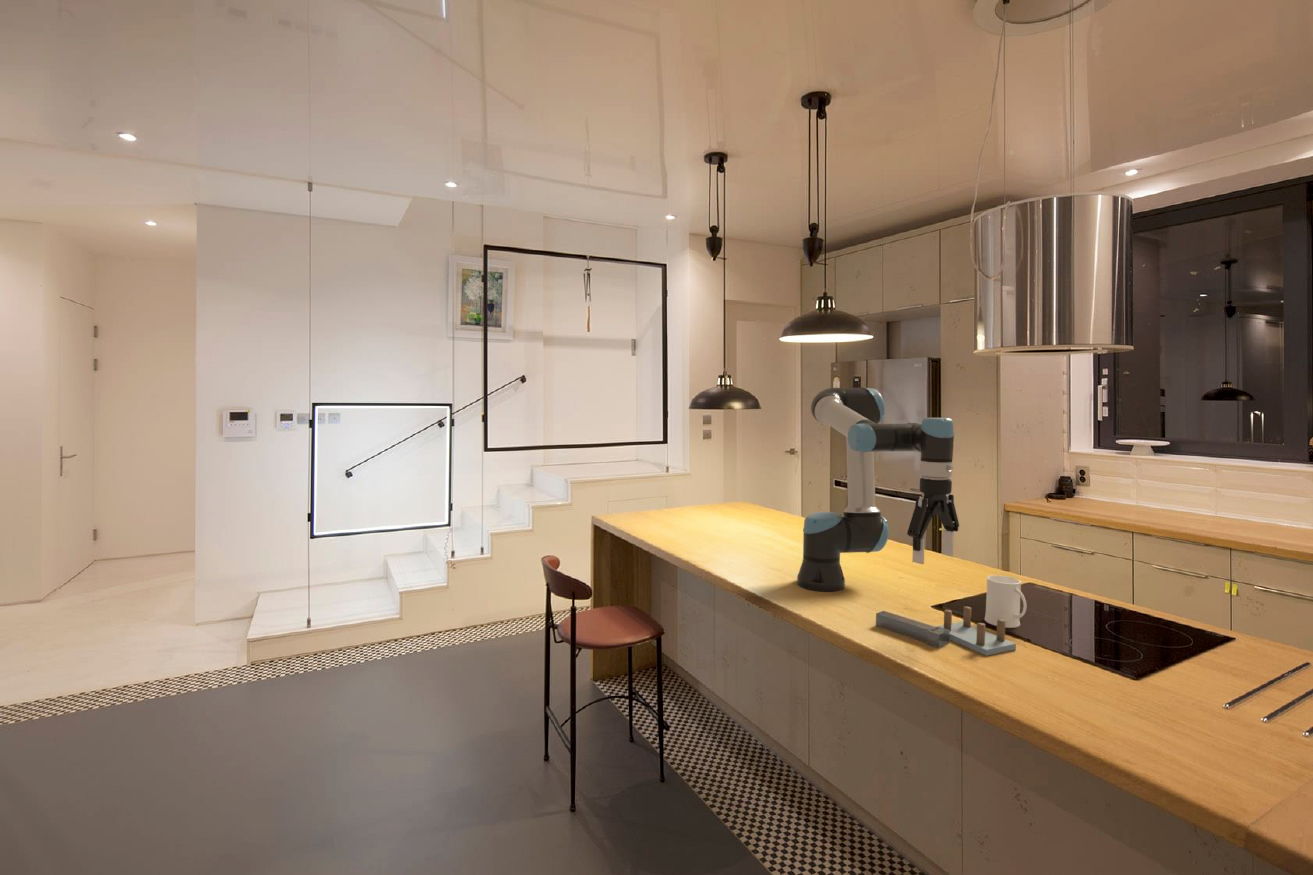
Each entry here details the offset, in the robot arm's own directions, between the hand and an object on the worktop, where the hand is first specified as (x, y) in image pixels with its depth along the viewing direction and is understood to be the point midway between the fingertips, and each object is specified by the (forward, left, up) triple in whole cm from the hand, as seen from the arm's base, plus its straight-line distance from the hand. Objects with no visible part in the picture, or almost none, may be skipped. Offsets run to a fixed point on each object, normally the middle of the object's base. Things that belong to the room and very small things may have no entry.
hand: (932, 559), depth 163 cm
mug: (+3, +24, -20) cm, 31 cm away
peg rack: (+8, +6, -20) cm, 22 cm away
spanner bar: (-2, -6, -20) cm, 21 cm away
